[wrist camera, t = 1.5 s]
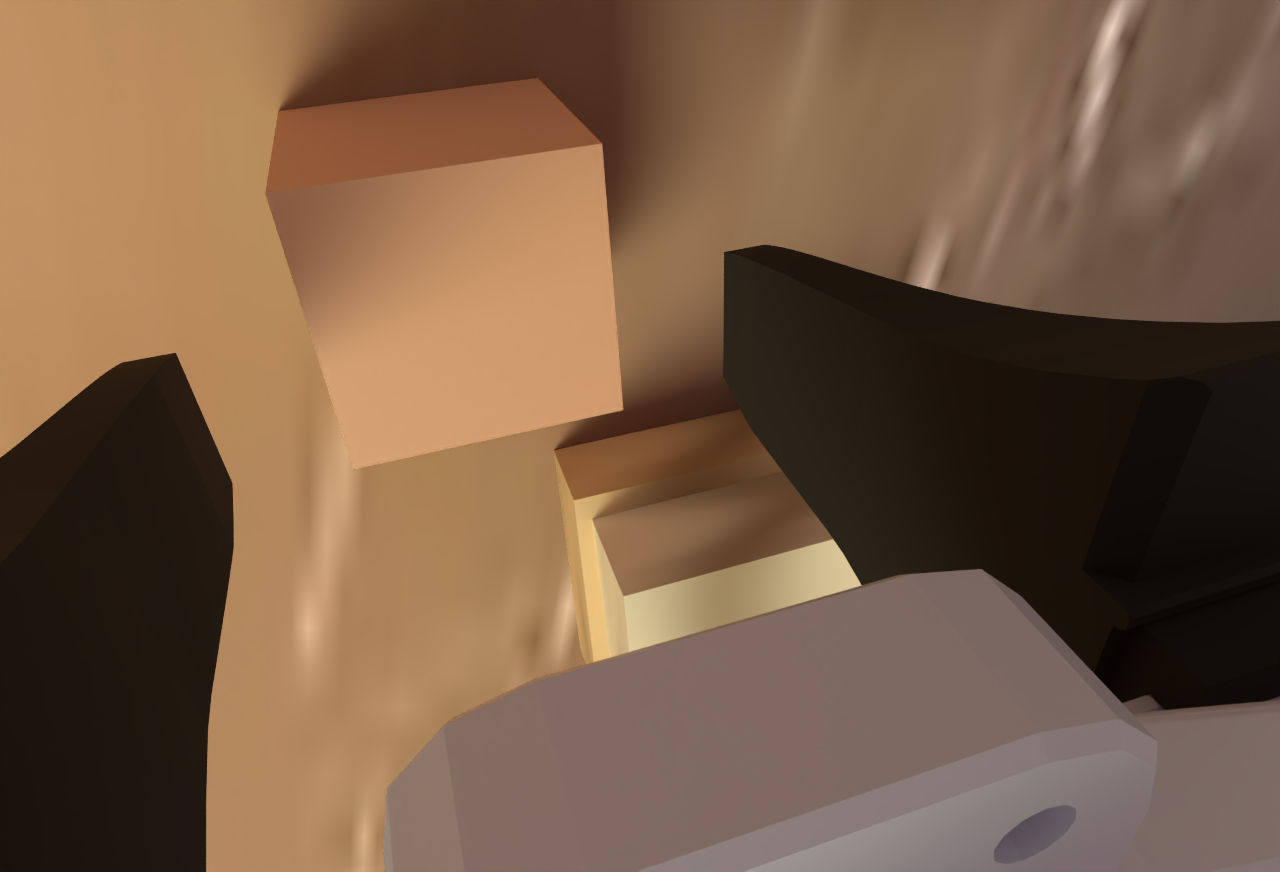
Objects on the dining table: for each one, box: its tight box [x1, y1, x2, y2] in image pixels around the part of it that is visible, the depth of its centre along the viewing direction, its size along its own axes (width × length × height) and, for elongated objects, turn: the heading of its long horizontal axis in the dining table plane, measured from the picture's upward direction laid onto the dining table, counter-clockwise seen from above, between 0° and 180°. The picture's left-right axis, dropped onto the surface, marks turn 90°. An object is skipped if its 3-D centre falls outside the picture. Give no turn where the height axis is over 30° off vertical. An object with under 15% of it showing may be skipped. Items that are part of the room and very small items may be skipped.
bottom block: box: [554, 409, 783, 664], centre depth 22 cm, size 7×7×2 cm
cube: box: [265, 78, 623, 469], centre depth 14 cm, size 4×4×4 cm
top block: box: [592, 472, 862, 658], centre depth 20 cm, size 6×6×2 cm
